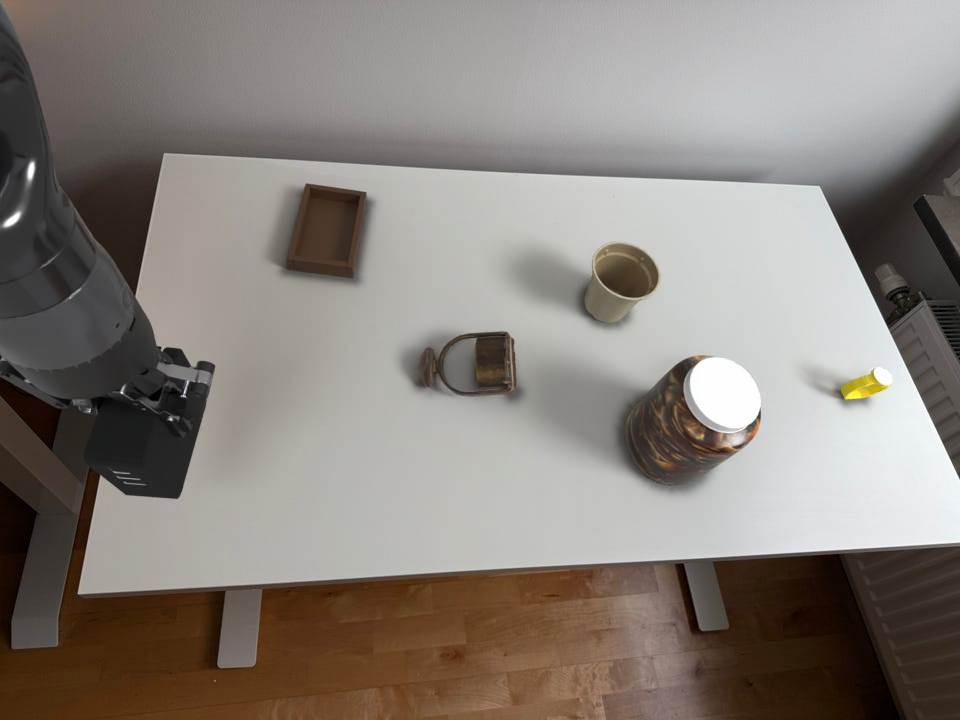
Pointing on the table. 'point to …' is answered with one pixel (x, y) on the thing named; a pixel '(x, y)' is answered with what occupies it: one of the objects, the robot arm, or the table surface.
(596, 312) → the flower pot
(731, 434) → the jar
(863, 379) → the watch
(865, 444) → the table surface
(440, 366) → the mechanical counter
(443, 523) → the table surface
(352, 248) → the tray
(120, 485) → the electronic device
